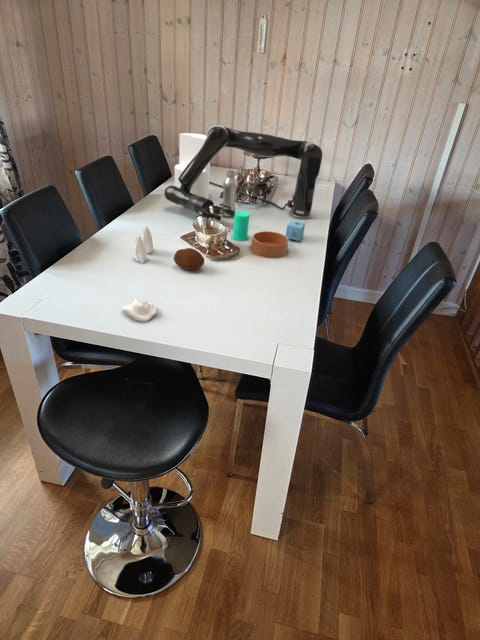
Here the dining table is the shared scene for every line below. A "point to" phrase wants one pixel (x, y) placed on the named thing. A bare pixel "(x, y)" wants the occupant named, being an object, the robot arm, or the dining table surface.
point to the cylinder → (187, 152)
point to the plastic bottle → (229, 191)
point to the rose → (140, 310)
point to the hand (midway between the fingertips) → (227, 216)
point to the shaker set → (143, 245)
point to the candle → (241, 225)
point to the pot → (269, 244)
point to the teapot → (295, 230)
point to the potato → (189, 259)
